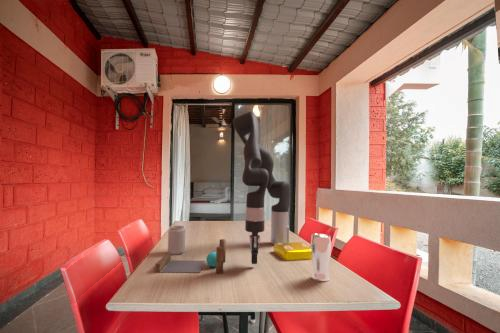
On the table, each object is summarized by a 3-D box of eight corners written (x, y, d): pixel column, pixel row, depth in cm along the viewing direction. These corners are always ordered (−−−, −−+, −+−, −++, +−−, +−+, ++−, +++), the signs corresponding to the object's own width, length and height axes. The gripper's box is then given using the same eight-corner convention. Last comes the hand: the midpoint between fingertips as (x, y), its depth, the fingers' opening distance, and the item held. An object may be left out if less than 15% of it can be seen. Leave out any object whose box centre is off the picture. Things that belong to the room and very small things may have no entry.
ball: (221, 263, 109) (222, 250, 109) (219, 269, 104) (219, 255, 103) (208, 263, 109) (208, 249, 109) (204, 269, 104) (204, 254, 104)
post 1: (225, 260, 114) (226, 239, 114) (225, 262, 111) (225, 240, 112) (219, 260, 114) (219, 239, 114) (218, 262, 111) (219, 240, 111)
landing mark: (205, 261, 113) (205, 260, 113) (200, 272, 99) (200, 272, 99) (171, 260, 113) (171, 260, 113) (161, 272, 99) (161, 271, 99)
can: (187, 251, 127) (188, 225, 127) (178, 255, 120) (179, 228, 120) (174, 250, 129) (174, 224, 130) (164, 254, 122) (165, 227, 123)
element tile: (316, 259, 119) (316, 248, 120) (284, 262, 116) (284, 250, 116) (301, 250, 134) (301, 240, 134) (272, 252, 130) (272, 242, 130)
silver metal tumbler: (319, 283, 91) (320, 238, 92) (306, 276, 97) (306, 234, 98) (335, 280, 94) (335, 236, 95) (321, 273, 101) (321, 232, 101)
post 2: (223, 271, 101) (223, 246, 102) (222, 273, 99) (223, 248, 99) (216, 271, 101) (216, 246, 101) (215, 273, 98) (216, 248, 99)
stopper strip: (170, 260, 113) (170, 253, 113) (159, 272, 99) (160, 264, 99) (166, 260, 113) (166, 253, 113) (155, 272, 99) (155, 264, 99)
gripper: (245, 216, 114) (244, 258, 113) (245, 221, 100) (244, 269, 100) (263, 216, 114) (262, 258, 113) (265, 221, 101) (265, 269, 100)
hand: (254, 263), depth 106 cm, fingers closed
